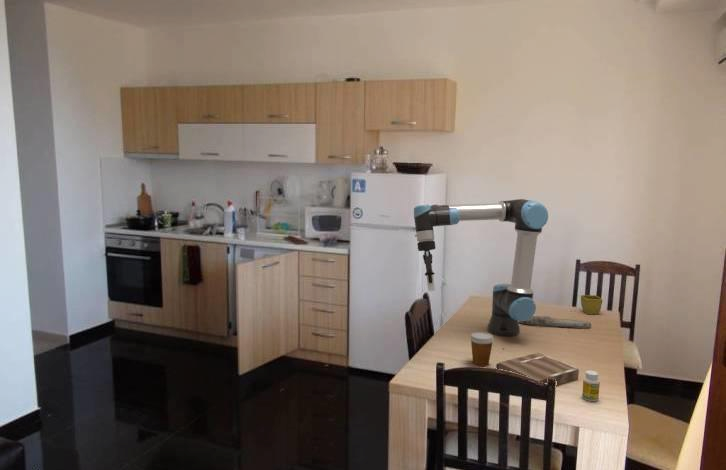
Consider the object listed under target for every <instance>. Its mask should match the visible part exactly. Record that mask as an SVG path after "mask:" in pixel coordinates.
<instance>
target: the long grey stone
mask: <svg viewBox="0 0 726 470" xmlns="http://www.w3.org/2000/svg"><path fill="white" fill-rule="evenodd" d="M518 323H520V324H523V325H529V326H532V327H533V326H536V327H543V328H546V327H550V328H552V327H554V328H555V327H561V328H571V329H579V330H581V329H591V328H592V322H590V321H586V320H580V319H570V318H569V319H568V318H556V317H552V316H550V315H546V316H545V315H533V316H532V317H531V318H530V319H528V320H526V321H518Z"/></svg>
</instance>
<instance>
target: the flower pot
mask: <svg viewBox="0 0 726 470" xmlns="http://www.w3.org/2000/svg"><path fill="white" fill-rule="evenodd" d="M580 304H581V305H580V306H581V308H582V311H583V312H584V313H585V314H586V315H597V314H598V313H599V312H600V311H601V308H602V306H603V305H602V304H603V299H602V298H601V297H599V296H598V295H596V294H595V295H594V294H592V295H590V294H589V295H588V294H582V295H581V294H580Z"/></svg>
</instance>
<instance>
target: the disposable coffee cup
mask: <svg viewBox="0 0 726 470" xmlns="http://www.w3.org/2000/svg"><path fill="white" fill-rule="evenodd" d="M469 339H470V342H471V354H472V356H471V357H472V364H473V365H474V366H477V367H488V366H489V364H490V358H491V354H492V346H493V342H494V341H495V338H494V335H493V334H492V333H490V332H489V333H488V332H482V331H477V332H476V331H475V332H472V333H471V334H470V337H469Z"/></svg>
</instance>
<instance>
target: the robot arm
mask: <svg viewBox="0 0 726 470" xmlns="http://www.w3.org/2000/svg"><path fill="white" fill-rule="evenodd" d="M413 219H414V226H415V232H416V233H415V235H414V237H415V238H416V241H417V250H418V251H419V252H423V255H422V258H423V262H424V265H425V270H426V271H425V273H424V276H426V283H427V289H428V292H433V291H434V292H435V290H436V288H435V287H436V286H435V279H434V275H435V272H433V265H432V264H433V254H432V253H431V251H433V250H436V241H435V230H434V227H442V226H443V227H444V226H454V225H458V224H459V222H464V221H493V220H498V221H499V222H509V223H514V231H515V232H516V233H517V236H516V243H515V251H514V261H513V267H512V275H511V282H510V284H509V283H508V284H507V283H505V284H504V283H503V284H501V283H499V284H495V285H494V286H493V288H492V305H491V306H492V308H491V315H490V320H489V321H488V324H487V331H488V332H489V334H491V335H495V336H502V337H513V336H514V337H515V336H518V335H519V334H520V333H521V332H520V331H521V328H520V326H519V325H520V324H519V321H526V320H528V319H530V318H531V317H532V316H535V313H536V310H537V306H536V302H535V301H534V299H533V298H534V291H533V289H532V288H531V285H532V280H533V271H534V264H535V263H534V262H535V258H536V257H535V255H536V249H537V241H538V236H539V235H540V234H541V233H542V231H543V228H544V226H545V225H547V223H548V221H549V212H548V209H547V207H546V206H545V205H544V204H543V203H541V202H539V201H536V200H529V199H524V198H519V199H518V198H517V199H511V200H500V201H498V203H497V202H496V203H495V202H494V203H493V202H492V203H470V204H469V203H467V204H447V205H446V204H444V205H443V204H442V205H440V204H439V205H438V204H431V205H429V204H421V205H416V206H415V207H414V208H413Z"/></svg>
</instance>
